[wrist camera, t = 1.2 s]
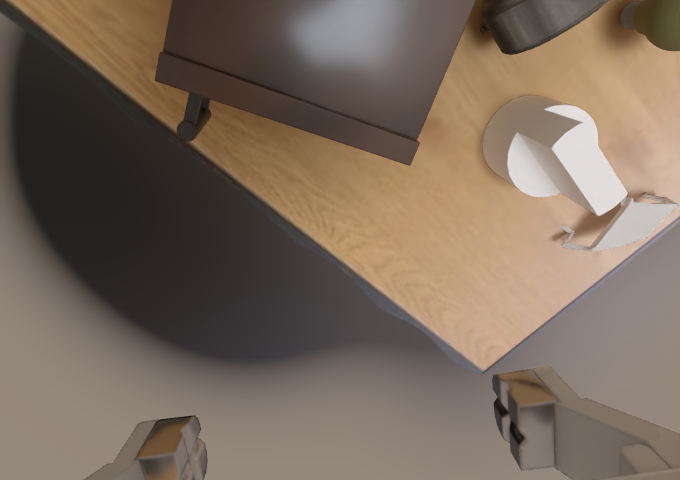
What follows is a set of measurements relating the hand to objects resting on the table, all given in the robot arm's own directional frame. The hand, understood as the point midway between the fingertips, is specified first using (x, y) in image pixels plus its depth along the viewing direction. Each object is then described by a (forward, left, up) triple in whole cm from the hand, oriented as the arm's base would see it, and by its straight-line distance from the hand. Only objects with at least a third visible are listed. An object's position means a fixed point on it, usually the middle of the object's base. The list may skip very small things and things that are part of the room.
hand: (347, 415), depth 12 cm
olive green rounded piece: (+27, +21, -37) cm, 50 cm away
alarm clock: (+15, +19, -37) cm, 44 cm away
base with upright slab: (+23, +7, -37) cm, 44 cm away
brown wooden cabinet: (-2, +10, -37) cm, 38 cm away
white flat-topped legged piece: (+36, +2, -37) cm, 52 cm away
